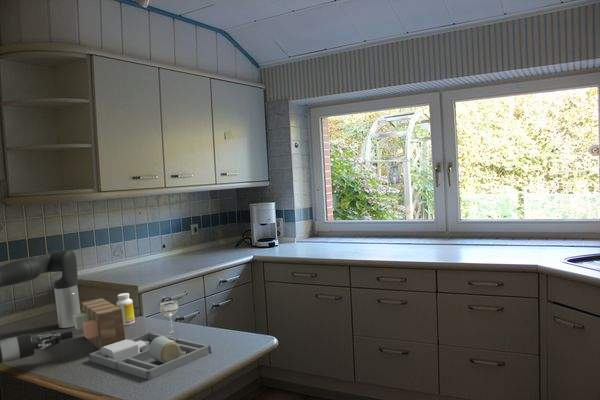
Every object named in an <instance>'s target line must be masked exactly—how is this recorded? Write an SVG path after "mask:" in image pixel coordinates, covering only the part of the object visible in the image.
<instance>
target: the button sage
mask: <svg viewBox="0 0 600 400" xmlns="http://www.w3.org/2000/svg"><path fill="white" fill-rule="evenodd" d="M73 317H74V325H75V326H74V328H75V329H76V330H77V331H79V330H83V324H82V323H83V322H87V321H88V316H87V313H86V312H84V313H82V312H81V313H80V314H76V315H73Z"/></svg>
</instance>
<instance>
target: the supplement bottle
mask: <svg viewBox="0 0 600 400" xmlns="http://www.w3.org/2000/svg"><path fill="white" fill-rule="evenodd" d="M117 299H118V300H117V301H116V303H115V304H116V305H115V306H117V307H119V308H120V309H122V318H123V326H124V327H127V326H130V325H133V324H135V322H136V318H135V309H134V302H133V299H132V298H130V293H129V292H124V293H123V292H122V293H119V294H117Z"/></svg>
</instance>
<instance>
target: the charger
mask: <svg viewBox="0 0 600 400" xmlns="http://www.w3.org/2000/svg"><path fill="white" fill-rule="evenodd" d="M147 344H151V342H150V341H145V342H144V341H141V340H140V341H137V342H134V341H131V340H130V339H128V338H125V340H123V341H120V342H116V343H113V344H110V345H107V346H104V347H101V352H102V356H104V357H108V358H111V359H114V360H117V361H119V360H122V359H124V358H127V357H130V356H132V355H135V354H138V353H140V352H141V350H142V349H145V348H146V347H147Z"/></svg>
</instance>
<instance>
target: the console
mask: <svg viewBox="0 0 600 400" xmlns="http://www.w3.org/2000/svg"><path fill="white" fill-rule="evenodd" d="M80 307H81V313H84V312H86V313H87V316H88V321H91V320H96V321H97V322H98V330H99V336H97V337H93V338H89V339H87V340H88V341H89V342H90V343H91V344H93V345H94V346H95V347H96V348H97V349H98V350H101V347H104V346H107V345H110V344H113V343H116V342H120V341H123V340H126V337H125V328H124V327H125V326H123V318H122V309H120V308H119V307H117V306H116V305H115V304H113V303H111V302H110V301H108V300H106V299H104V298H102V297H100V298H96V299H91V300H86V301H82V302H80Z"/></svg>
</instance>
